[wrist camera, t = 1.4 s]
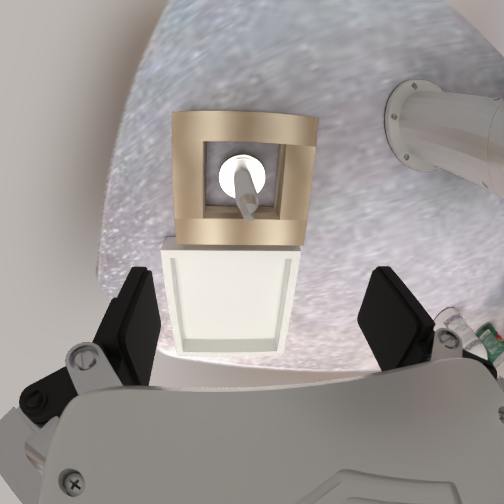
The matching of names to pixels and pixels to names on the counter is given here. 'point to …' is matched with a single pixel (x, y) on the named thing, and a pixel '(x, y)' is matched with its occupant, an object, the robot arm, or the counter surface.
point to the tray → (229, 297)
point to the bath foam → (461, 331)
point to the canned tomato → (491, 343)
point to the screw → (243, 182)
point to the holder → (229, 217)
